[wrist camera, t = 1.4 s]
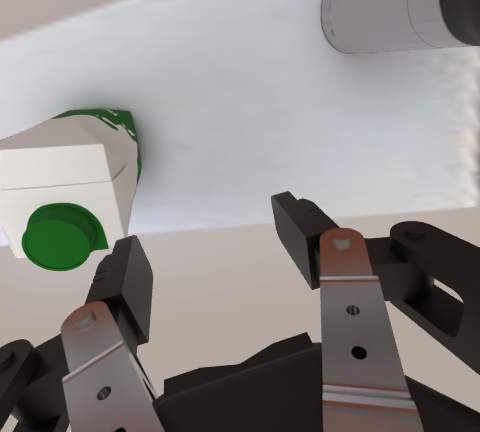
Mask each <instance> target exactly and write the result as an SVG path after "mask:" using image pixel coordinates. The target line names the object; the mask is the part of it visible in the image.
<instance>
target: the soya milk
mask: <svg viewBox="0 0 480 432" xmlns="http://www.w3.org/2000/svg"><path fill="white" fill-rule="evenodd" d="M140 172H141V161H140V154H139V147H138V141H137V137H136V133H135V129H134V125H133V121H132V117H131V113H130V111H119V110H108V109H89V110H70V111H67V112H65V113H62V114H60V115H58V116H56V117H54V118H52V119H49V120H47V121H45V122H43V123H41V124H39V125H36V126H34V127H32V128H30V129H27V130H25V131H23V132H20V133H18V134H15V135H13V136H10V137H7V138H5V139H2V140H0V224H1V226H2V229H3V231H4V233H5V235H6V237H7V240H8V242H9V244H10V246H11V248H12V250H13V253H14V255H15V257H16V258H23V257H28V258H29V260H31V261H32V262H33V263H34V264H36V265H38V266H40V267H42V268H44V269H47V270H53V271H67V270H71V269H74V268H77V267H79V266H80V265H81V264H83V263H84V262H85V261H86V260H87V258H88V257H89V255H90V252H92V251H94V250H103V249H108V247H114V245H115V242H116V240H119V239H122V238H126V237H127V233H128V227H129V221H130V215H131V209H132V204H133V200H134V196H135V192H136V188H137V184H138V180H139V176H140Z"/></svg>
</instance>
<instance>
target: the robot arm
mask: <svg viewBox="0 0 480 432" xmlns="http://www.w3.org/2000/svg"><path fill="white" fill-rule="evenodd" d="M321 19H322V26H323V30H324V32H325V35H326V37H327V39H328V40H329V42H330V43H331V44H332V45H333V46H334V47H335V48H336V49H338V50H339V51H341V52H344V53H373V52H389V51H406V50H422V49H439V48H452V47H468V46H480V0H323V2H322V9H321ZM271 202H272V208H273V214H274V219H275V225H276V230H277V233H278V236H279V238H280V240H281V242H282V244H283V245H284V247H285V248H286V250H287V251H288V253H289V255H290V256H291V258H292V259H293V261H294V262H295V264H296V265H297V267H298V269H299V270H300V272H301V273H302V275H303V276H304V278H305V280H306V281H307V283H308V284H309V286H310V288H311V289H312V290H314V289H317V288H320V297H321V298H320V300H321V333H322V334H321V335H322V343H312V341H311V339H310V337H309V336H308V334H307V332H305V333H302V334H300V335H297V336H294V337H291V338H288V339H285V340H282V341H279V342H276V343H273V344H271V345H270V346H268V347H266V348H265V349H263V350H262V351H260V352H258V353H257V354H255V355H254V356H252V357H250V358H249V359H247V360H246V361H244V362H242V363H240V364H237V365H227V366H216V367H203V368H198V369H196V370H192V371H189V372H186V373H183V374H180V375H177V376H174V377H172V378H168V379H165V380H164V394H163V395H161V396H159V397H158V395H157V393H156V391H155V389H154V387H153V385H152V383H151V381H150V380H149V377H148V376H147V373H146V371H145V370H144V367H143V365H142V363H141V362H140V360H139V358H138V356H137V354H136V353H137V346H138V345H141V344H144V343H147V342H148V341H149V328H150V327H149V326H150V314H151V299H152V287H153V273H152V269H151V266H150V263H149V261H148V259H147V257H146V255H145V252H144V250H143V248H142V246H141V244H140V241H139V239H138V238H137V236H136V235H133V236H129V237H126V238H122V239H119V240H116V242H115V245H114V249H113V252H112V254H109V255H107V256H105V258H104V259H103V260H102V261H101V262H100V263H99V265H98V267H97V270H96V273H95V274H96V275H95V276H94V279H93V283H92V284H91V288H90V290H89V293H88V296H87V299H86V302H85V304H84V305H83V306H81V307H80V308H78V309H76V310H75V311H74V312H72V313H71V314H70V315H69V316H68V317H67V319H66V320H65V321H64V323H63V324H62V326H61V334H59V335H57V336H56V337H54V338H52V339H50V340H48V341H46V342H44V343H43V344H41V345H39V346H37V347H35V348H34V347H33V345H32V344H31V343H30V342H29V341H28V340H24V339H21V340H16V341H13V342H10V343H8V344H6V345H4V346H2V347H1V348H0V431H1V429H2V428H3V426H4V424H5V422H6V421H7V419H8V417H9V415H10V414H11V415H13V416H14V417H15V418H16V419H17V420H18V423H17V425H16V427H15V428H14V430H13V432H66V431H67V428H68V426H69V423H70V426H71V431H72V432H480V413H479V412H477V411H475V410H473V409H471V408H469V407H467V406H465V405H463V404H461V403H459V402H457V401H455V400H453V399H451V398H449V397H448V396H446V395H444V394H441V393H439V392H437V391H436V390H433V389H432V388H430V387H428V386H426V385H424V384H422V383H420V382H417V381H415V380H414V379H412V378H410V377H408V376H406V375H404V372H403V368H402V365H401V361H400V357H399V353H398V349H397V346H396V342H395V338H394V334H393V331H392V327H391V323H390V319H389V316H388V312H387V308H386V305H385V301H390V302H391V303H392V304H393V305H394V306H395V307H396V308H398V309H399V310H400V311H402V312H403V313H404V314H405V315H407V316H408V317H409V318H410V319H411V320H412V321H414V322H415V323H416V324H417V325H419V326H420V327H421V328H422V329H424V330H425V331H426V332H427V333H429V334H430V335H431V336H432V337H433V338H435V339H436V340H437V341H438V342H440V343H441V344H442V345H443V346H444V347H446V348H447V349H448V350H449V351H451V352H452V353H453V354H454V355H455V356H457V357H458V358H459V359H460V360H462V361H463V362H464V363H465V364H466V365H468V366H469V367H470V368H472V369H473V370H474V371H475V372H476V373H478V374H479V375H480V247H477V246H475V245H473V244H471V243H469V242H467V241H464V240H462V239H460V238H458V237H456V236H454V235H451V234H449V233H447V232H445V231H443V230H441V229H439V228H436V227H434V226H432V225H430V224H427V223H424V222H417V221H406V222H400V223H398V224H396V225H394V226H393V227H392V228H391V230H390V237H382V238H372V239H370V238H369V239H367V238H364V237H363V236H362V235H361V233H359V232H358V231H356V230H353V229H349V228H340V227H339V226H338V225H337V224H336V223H335V222H334V221H332V220H331V219H330V218H329V217H328V216H327V215H326V214H324V212H323V211H322V210H321V209H319V207H318V206H317V205H316V204H315V203H314V202H312V201H309V200H306V199H304V198H303V199H299V200H297V199H296V198H295V197H294V196H293V195H292V194H291V193H290V192H289V191H287V192H283V193H280V194H276V195H273V196H271ZM434 279H436V280H438V281H440V282H441V283H443V284H445V285H446V286H448V287H449V288H451V289H453V290H454V291H455V292H456V293H457V294H458V295H459V296H460V297H461V299H462V300H463V303H462V302H461V301H459V300H458V299H456V298H454V297H453V296H451V295H450V294H448V293H447V292H445V291H443V290H442V289H441V288H439V287H437V286H436V285H434Z"/></svg>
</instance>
